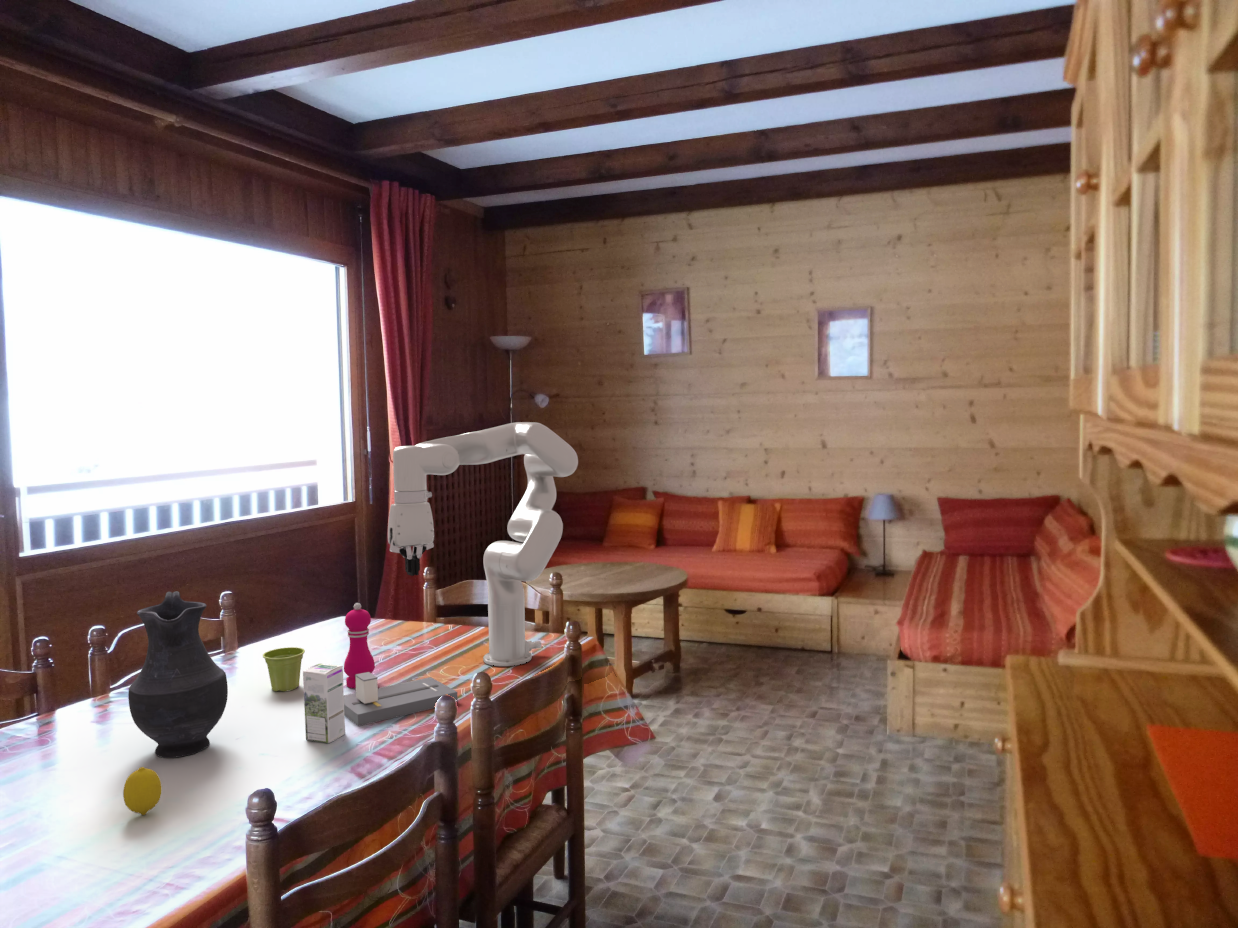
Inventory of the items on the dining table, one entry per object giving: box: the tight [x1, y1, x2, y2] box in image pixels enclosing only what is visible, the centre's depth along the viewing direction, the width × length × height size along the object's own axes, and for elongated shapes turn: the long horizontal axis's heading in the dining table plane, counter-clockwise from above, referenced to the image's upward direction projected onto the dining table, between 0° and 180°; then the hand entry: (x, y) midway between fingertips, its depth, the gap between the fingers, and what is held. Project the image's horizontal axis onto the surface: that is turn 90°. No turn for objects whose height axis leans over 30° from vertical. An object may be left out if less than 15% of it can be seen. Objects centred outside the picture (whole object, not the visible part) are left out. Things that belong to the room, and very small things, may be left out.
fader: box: [355, 672, 379, 704], centre depth 190 cm, size 3×5×5 cm, turn 37°
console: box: [344, 676, 459, 727], centre depth 195 cm, size 23×14×3 cm, turn 127°
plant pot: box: [262, 646, 306, 692], centre depth 208 cm, size 9×9×9 cm
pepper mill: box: [343, 602, 376, 689], centre depth 209 cm, size 7×7×20 cm
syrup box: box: [302, 663, 346, 744], centre depth 176 cm, size 6×6×14 cm
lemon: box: [122, 766, 163, 816], centre depth 143 cm, size 6×6×8 cm
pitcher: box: [127, 591, 229, 759], centre depth 172 cm, size 17×21×30 cm
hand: (412, 574), depth 206 cm, fingers closed
